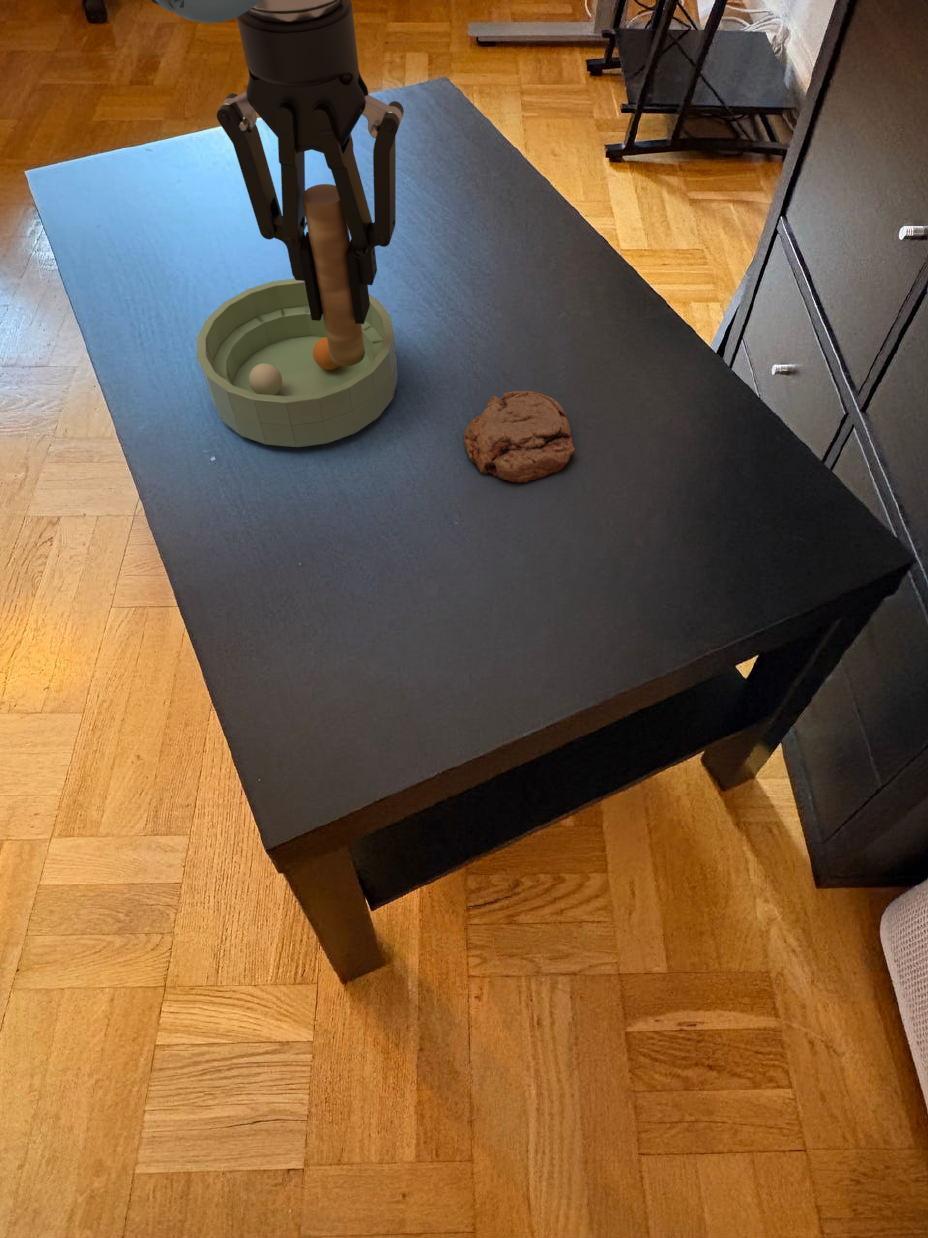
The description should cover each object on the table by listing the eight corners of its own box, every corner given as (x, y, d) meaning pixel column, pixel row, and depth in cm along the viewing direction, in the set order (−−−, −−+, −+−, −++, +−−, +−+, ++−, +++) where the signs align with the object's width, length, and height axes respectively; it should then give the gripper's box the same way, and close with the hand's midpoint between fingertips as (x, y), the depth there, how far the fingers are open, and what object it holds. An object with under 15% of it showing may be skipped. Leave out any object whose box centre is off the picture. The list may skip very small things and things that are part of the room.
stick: (326, 364, 77) (297, 204, 64) (334, 342, 78) (307, 182, 66) (361, 367, 76) (338, 207, 64) (368, 345, 78) (347, 184, 66)
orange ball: (312, 375, 81) (307, 349, 79) (319, 355, 83) (314, 329, 80) (343, 377, 81) (338, 351, 78) (349, 357, 82) (345, 331, 80)
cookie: (574, 406, 79) (577, 381, 77) (572, 489, 73) (576, 464, 71) (468, 401, 80) (468, 375, 77) (458, 482, 74) (458, 458, 71)
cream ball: (249, 402, 79) (241, 376, 76) (257, 381, 81) (250, 355, 78) (280, 404, 79) (274, 379, 76) (288, 383, 80) (282, 357, 78)
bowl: (189, 444, 77) (169, 392, 72) (243, 324, 87) (229, 271, 82) (378, 461, 75) (372, 409, 71) (411, 337, 85) (407, 284, 80)
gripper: (426, -22, 56) (439, 292, 75) (189, -31, 57) (262, 280, 76) (406, 27, 52) (425, 346, 71) (151, 16, 53) (239, 332, 72)
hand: (341, 311), depth 74 cm, fingers closed on stick, 3 cm apart
